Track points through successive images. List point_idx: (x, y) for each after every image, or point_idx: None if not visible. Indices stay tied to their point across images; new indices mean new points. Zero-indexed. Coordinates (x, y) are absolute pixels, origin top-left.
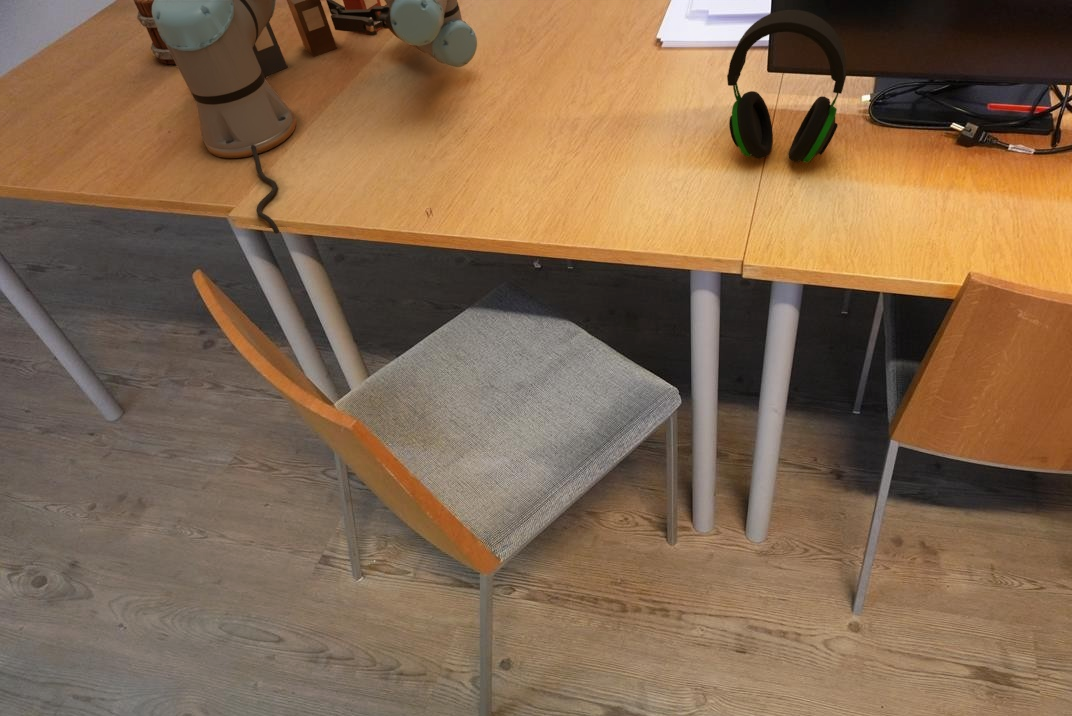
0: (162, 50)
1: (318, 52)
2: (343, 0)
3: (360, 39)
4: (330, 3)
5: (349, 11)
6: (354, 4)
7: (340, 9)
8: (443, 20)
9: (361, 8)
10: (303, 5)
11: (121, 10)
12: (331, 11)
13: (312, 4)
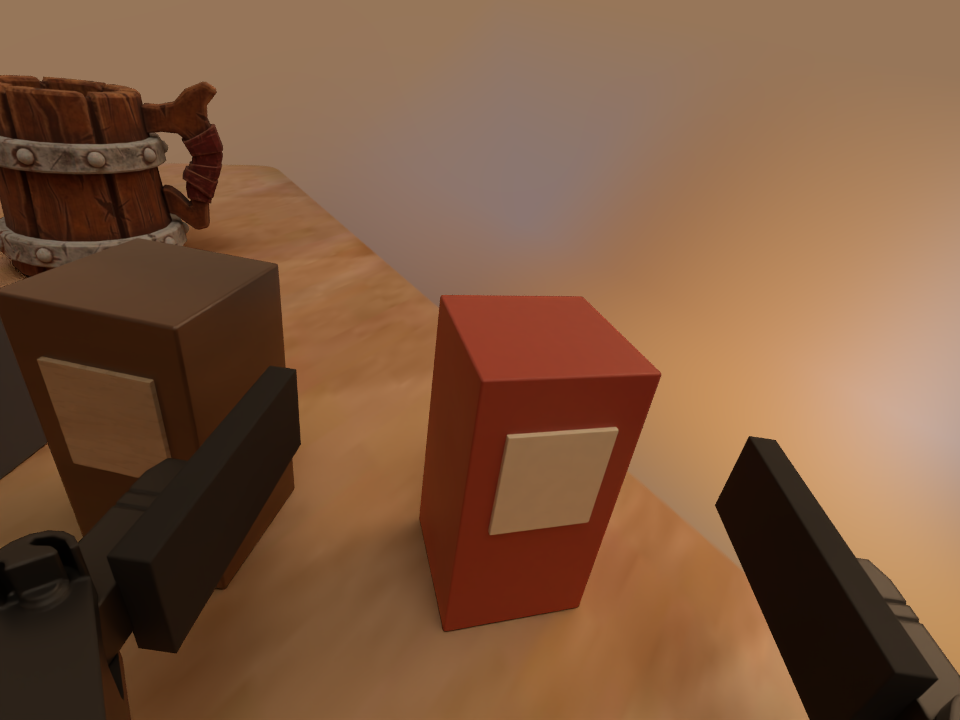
0: (2, 221)
1: None
2: (432, 398)
3: (373, 619)
4: (242, 407)
5: (26, 706)
6: (447, 462)
7: (53, 576)
8: None
9: (457, 514)
10: (53, 329)
11: (276, 171)
12: (139, 480)
13: (118, 353)
